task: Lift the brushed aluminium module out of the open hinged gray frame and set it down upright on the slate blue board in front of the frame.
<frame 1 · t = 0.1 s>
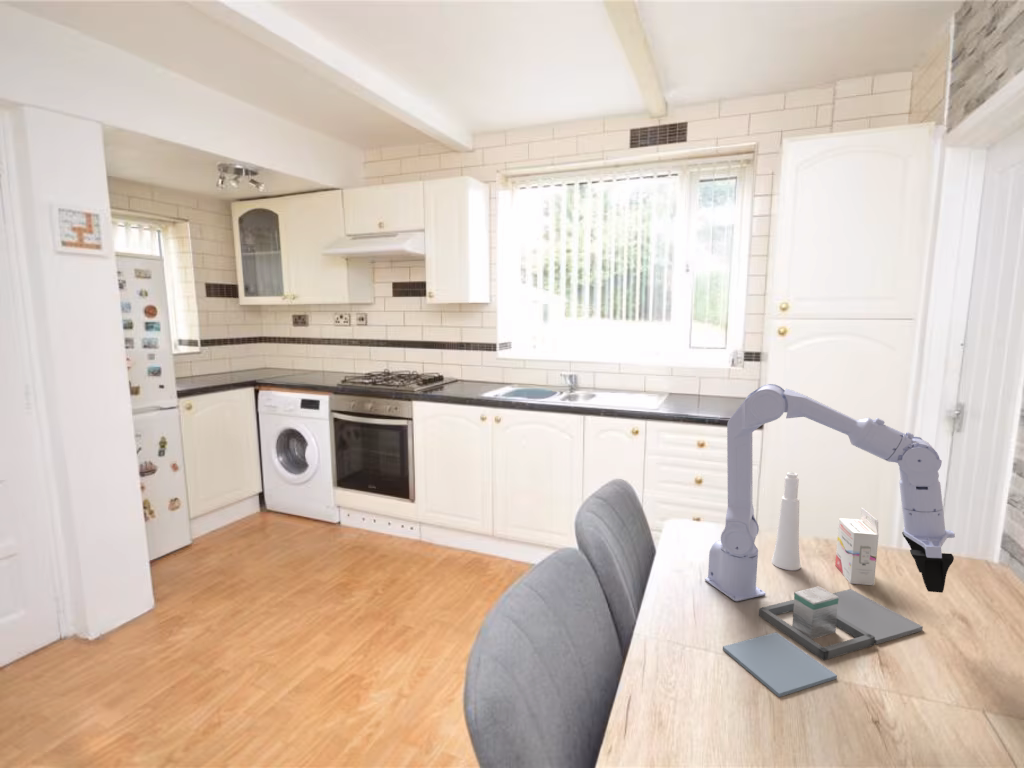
hand: (930, 581, 92), 11 cm above the table, tool pointing down, fingers open, 7 cm apart
hinged gray frame: (813, 629, 95), on the table
ink cartridge box: (853, 576, 115), on the table
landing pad: (777, 663, 86), on the table
module: (815, 612, 95), in the hinged gray frame
cosmetic bottle: (785, 565, 120), on the table
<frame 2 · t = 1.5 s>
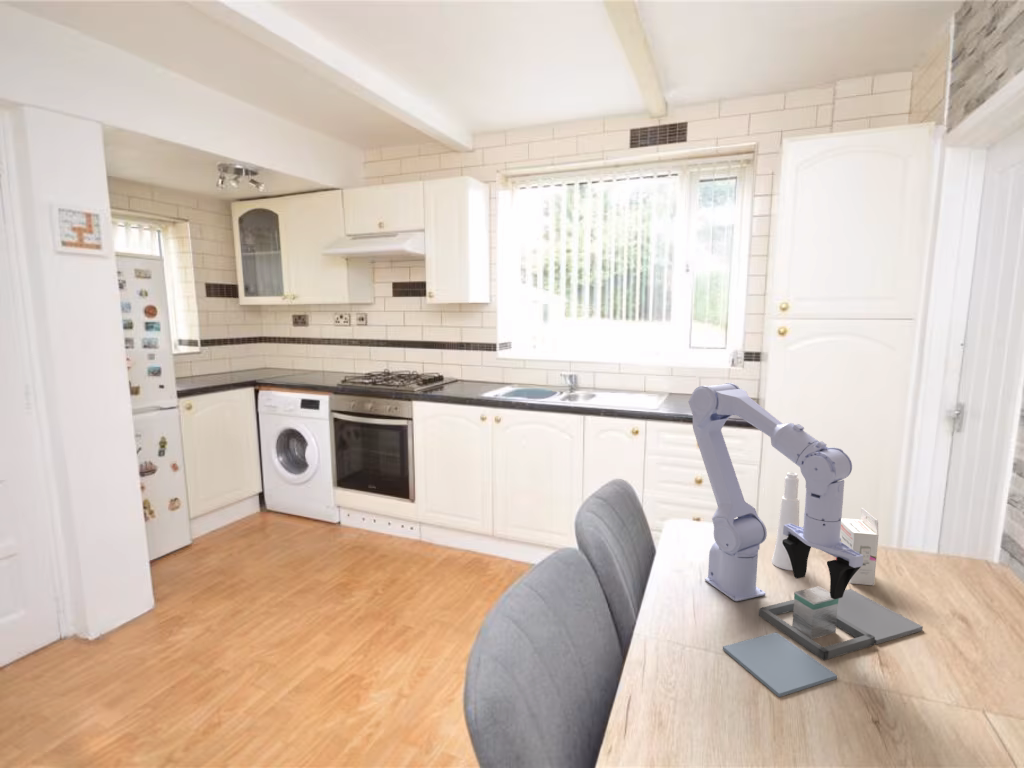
hand: (817, 586, 94), 8 cm above the table, tool pointing down, fingers open, 7 cm apart
nothing on the table moved.
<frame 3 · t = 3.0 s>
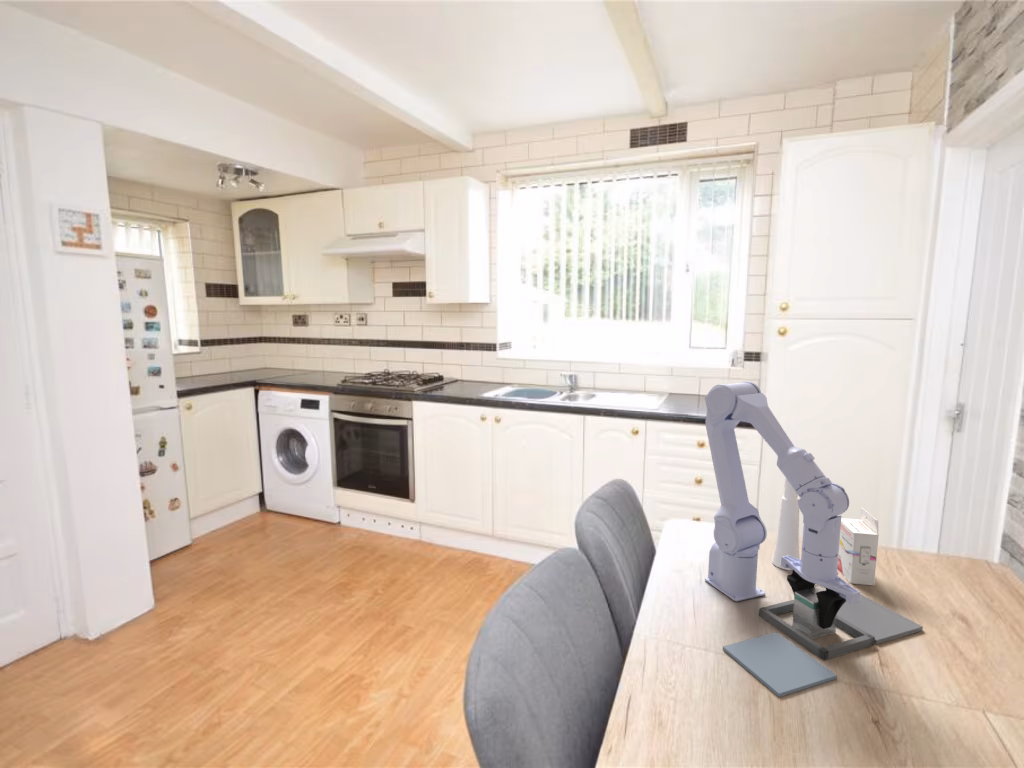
hand: (814, 619, 95), 2 cm above the table, tool pointing down, fingers closed on module, 4 cm apart
module: (815, 611, 95), in the hinged gray frame, touching gripper
everything else where it was.
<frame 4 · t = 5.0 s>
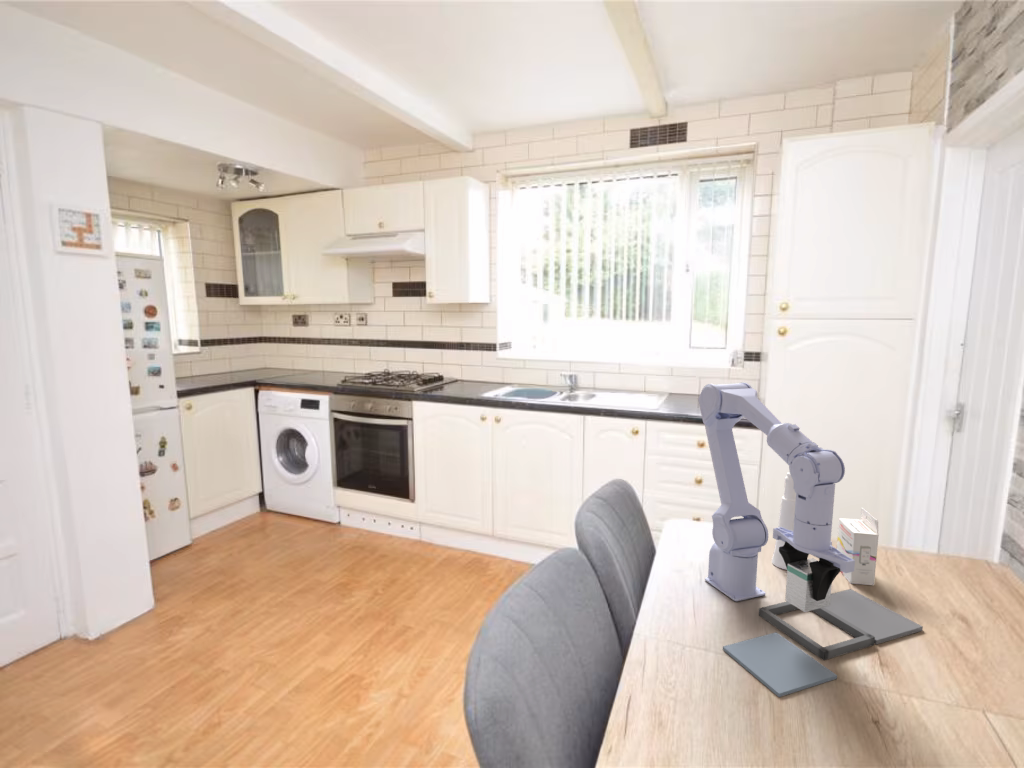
hand: (807, 592, 91), 9 cm above the table, tool pointing down, fingers closed on module, 4 cm apart
module: (808, 584, 91), point 10 cm above the table, touching gripper
everything else where it was.
when the fingers open (4 cm above the table, at t = 7.3 s): module drops 1 cm, resting on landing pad.
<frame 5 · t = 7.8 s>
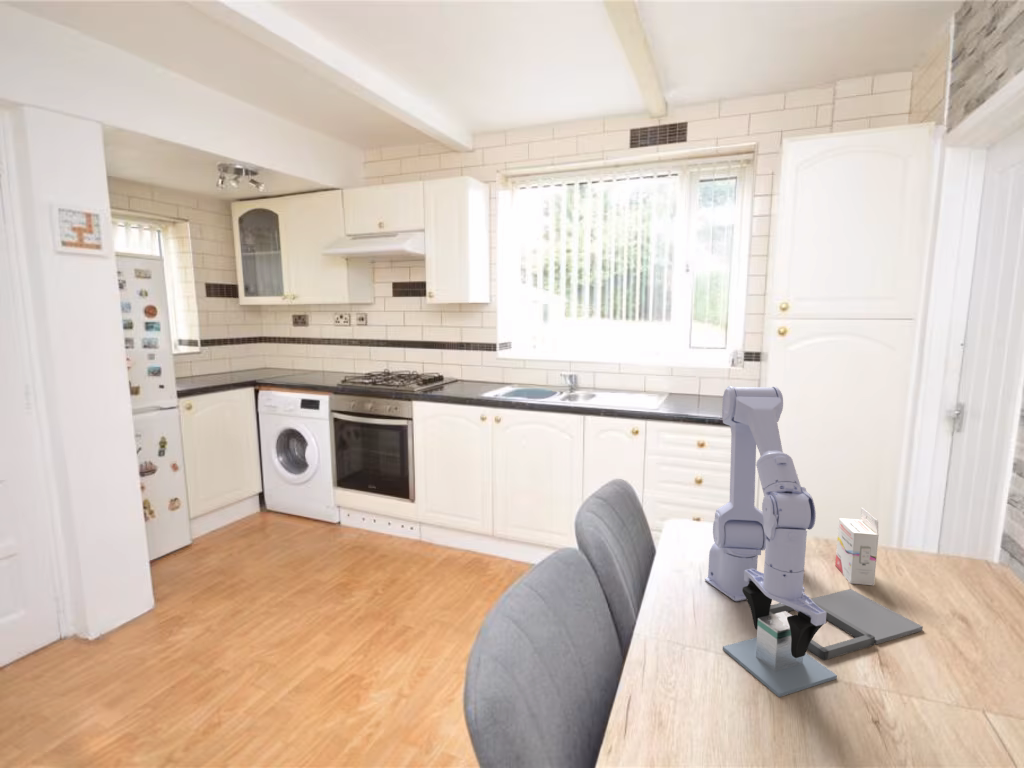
hand: (778, 641, 85), 4 cm above the table, tool pointing down, fingers open, 7 cm apart
module: (780, 640, 85), on the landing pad, point 4 cm above the table
everything else where it was.
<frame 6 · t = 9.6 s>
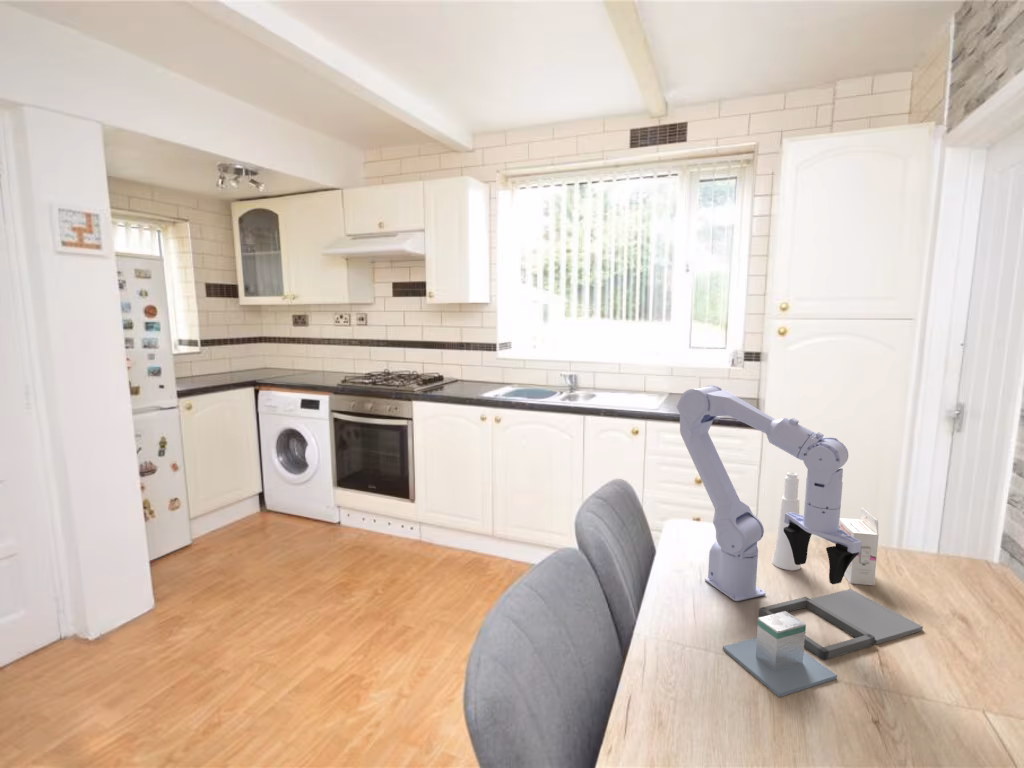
hand: (817, 572, 97), 9 cm above the table, tool pointing down, fingers open, 7 cm apart
nothing on the table moved.
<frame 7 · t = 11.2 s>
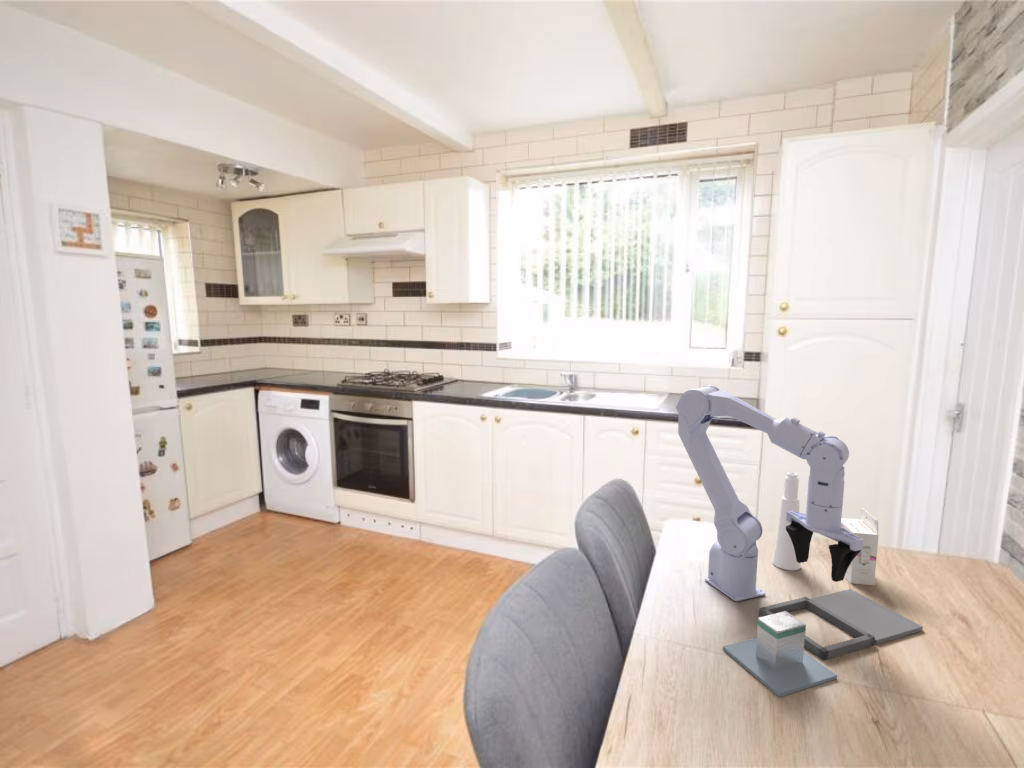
hand: (819, 570, 98), 9 cm above the table, tool pointing down, fingers open, 7 cm apart
nothing on the table moved.
at the end: module inside the target area on the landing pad (0.3 cm from its centre), point 4.1 cm above the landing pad's base; module tilted 0°; the gripper is holding nothing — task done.
